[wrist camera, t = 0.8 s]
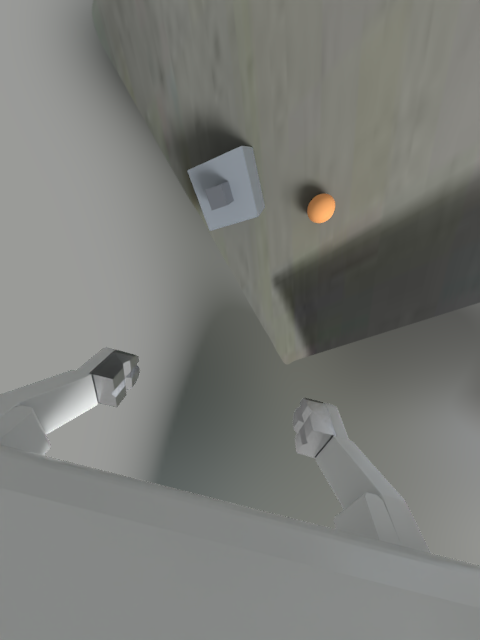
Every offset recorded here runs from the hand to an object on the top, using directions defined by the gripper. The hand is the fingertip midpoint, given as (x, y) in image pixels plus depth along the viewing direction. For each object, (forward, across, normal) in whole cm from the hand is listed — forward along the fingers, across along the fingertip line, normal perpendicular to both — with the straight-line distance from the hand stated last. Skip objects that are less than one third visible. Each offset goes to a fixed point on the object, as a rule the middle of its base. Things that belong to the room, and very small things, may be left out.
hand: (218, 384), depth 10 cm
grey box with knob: (+43, +7, -10) cm, 44 cm away
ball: (+39, -10, -10) cm, 41 cm away
